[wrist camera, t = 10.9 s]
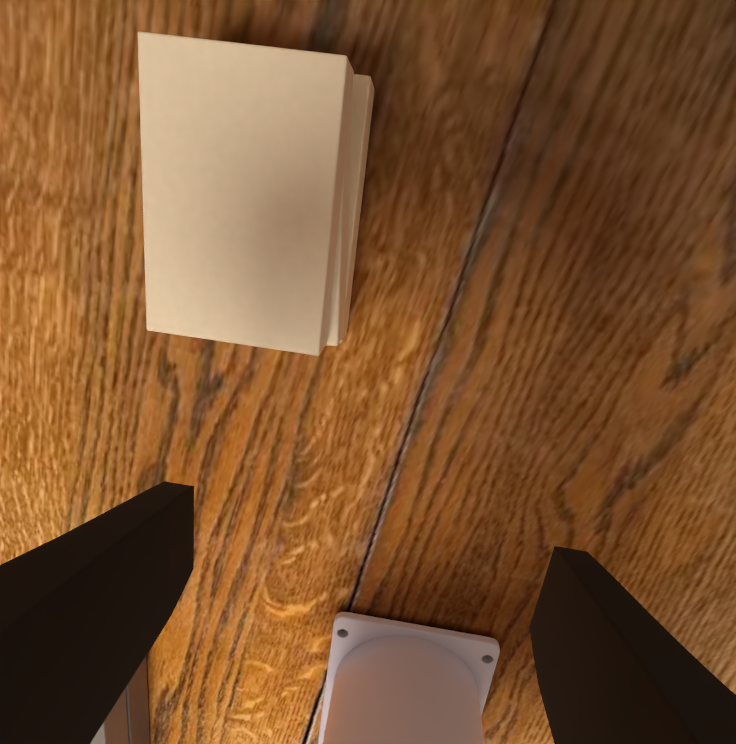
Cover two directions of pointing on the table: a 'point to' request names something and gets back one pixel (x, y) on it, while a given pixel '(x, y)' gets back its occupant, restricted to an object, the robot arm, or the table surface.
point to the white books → (350, 206)
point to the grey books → (128, 714)
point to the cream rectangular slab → (241, 188)
